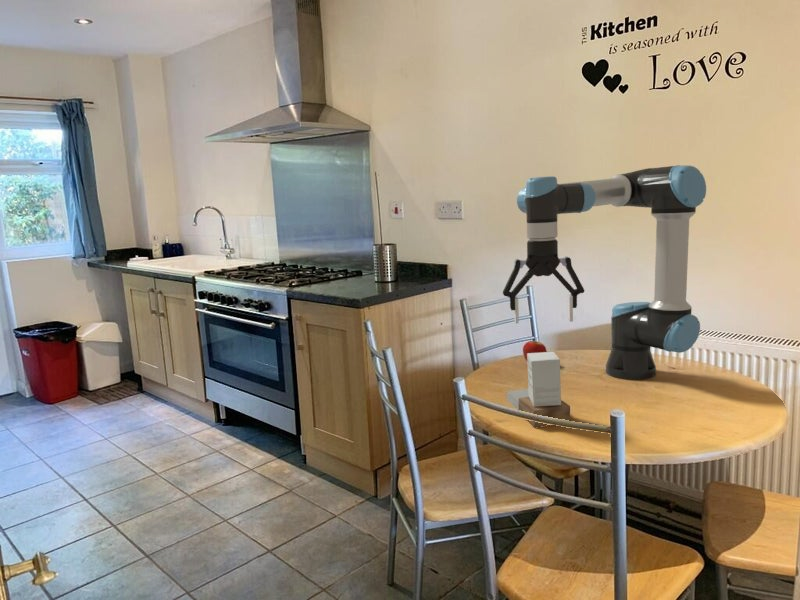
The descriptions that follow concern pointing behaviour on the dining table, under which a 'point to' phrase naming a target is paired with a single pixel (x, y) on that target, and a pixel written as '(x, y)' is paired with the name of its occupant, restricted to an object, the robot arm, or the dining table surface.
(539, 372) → the supplement box
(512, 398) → the slate coaster
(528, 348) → the apple
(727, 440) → the dining table surface
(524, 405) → the walnut block
